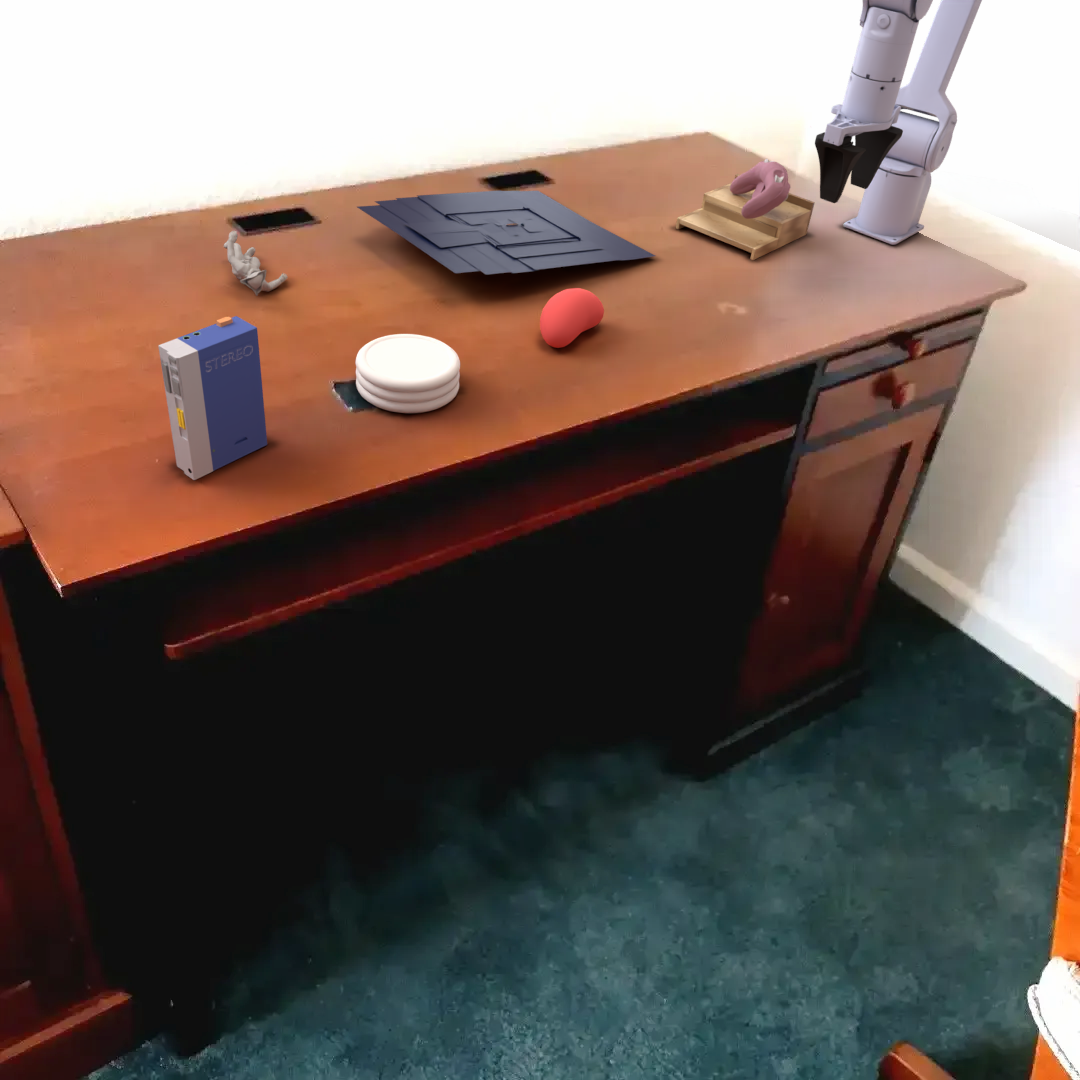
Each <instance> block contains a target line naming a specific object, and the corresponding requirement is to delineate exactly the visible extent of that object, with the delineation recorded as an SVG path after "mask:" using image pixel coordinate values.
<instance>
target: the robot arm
mask: <svg viewBox="0 0 1080 1080" xmlns="http://www.w3.org/2000/svg"><path fill="white" fill-rule="evenodd" d="M933 1H934V0H862V7H861V8H862V9H861V13H860V16H859V17H860V18H859V27H861V30H860V31H861V32H860V34H859V35H860V36H859V40H858V43H857V47H856V51H855V54H854V59H853V63H852V66H851V70H850V74H849V77H848V82H847V85H846V90H845V92H844V97H843V101H842V104H841V103H839V104H835V105H832V107H831V111H830V113H831V114H833V115H835V116H834V118H833V119H832V121H830V122H829V123H827V124H826V128H825V131H824V132H821V133H818V134H816V136H815V140H814V147H815V149H816V152H817V157H818V162H819V199H821V200H824V201H826V202H829V203H832V204H836V203H839V200H840V198H841V197H842V194H843V192H844V190H845V187H846V184H847V183H848V179H849V177H850V185H852V186H854V187H855V186H856V187H857V188H860V189H864V191H863V195H862V198H861V201H860V204H859V209H858V211H857V215H856V216H855V217H853V218H851V219H848V220H847V221H845V222H843V225H842V226H843V228H846V229H849V230H851V231H855V232H857V233H860V234H863V235H865V236H867V237H871V238H874V239H876V240H879V241H882V242H884V243H887V244H889V245H891V246H892V245H894V246H895V245H898V244H899V243H901V242H903V241H905V240H906V239H908V238H909V237H912V236H913V235H915V234H918V233H919V232H921V231H922V230H924V229H925V225H924V224H922V223H920V220H921V216H922V215H923V214H922V213H923V210H924V208H925V204H926V201H927V198H928V195H929V193H930V188H931V186H932V174H931V173H933V172H935V171H936V170H938V169H939V168H940V167H941V165H942V164H943V162H944V160H945V158H946V156H947V154H948V151H949V149H950V146H951V144H952V139H953V135H954V131H955V128H956V125H957V122H958V113H957V110H956V109H955V107H954V105H953V104H952V102H951V101H950V99H949V98H948V95H947V94H946V93H947V89H948V86H949V84H950V82H951V79H952V76H953V73H954V71H955V68H956V66H957V64H958V62H959V59H960V56H961V54H962V51H963V49H964V46H965V44H966V42H967V40H968V36H969V34H970V31H971V29H972V26H973V24H974V21H975V19H976V16H977V14H978V11H979V9H980V7H981V4H982V1H983V0H940V2H939V4H938V7H937V10H936V12H935V15H934V18H933V20H932V23H931V25H930V28H929V31H928V33H927V36H926V38H925V41H924V44H923V46H922V49H921V52H920V54H919V57H918V59H917V62H916V64H915V67H914V70H913V72H912V74H911V78H910V80H909V81H908V84H905V85H903V86H902V80H903V79H904V75H905V71H906V68H907V64H908V61H909V58H910V54H911V50H912V48H913V44H914V41H915V37H916V34H917V30H918V26H919V23H920V21H921V20H922V19H923V18H924V17H925V16H926V15H927V13H928V12H929V10H930V8H931V7H932V4H933ZM901 86H902V87H901ZM902 110H907V111H908V110H909V111H911V112H916V113H919V114H923V115H927V116H930V117H934V118H937V120H936V119H932V118H928V117H924V116H921V115H917V114H913V113H909V112H906V111H902ZM853 137H854V141H855V142H854V141H852V139H853Z"/></svg>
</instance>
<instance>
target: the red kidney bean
mask: <svg viewBox="0 0 1080 1080" xmlns="http://www.w3.org/2000/svg"><path fill="white" fill-rule="evenodd" d="M604 314H605V308H604V305H603V303H602V301H601V300H600V298H599V297H598V296H597V295H596V294H594V293H593V292H591V291H590V290H587V289H584V288H580V287H573V288H566V289H563V290H560V291H558V292H557V293H555V294H554V295H553V296H552V297H551V298H549V299H548V301H547V302H546V304H545V305H544V307H542V311H541V313H540V318H539V329H540V333H541V336H542V339H543V340H544V342H545V343H546V344H547V345H548V346H550V347H552V348H555V349H556V348H557V349H559V348H565V347H566V346H568V345H570V344H571V343H572V342H573V341H574V340H575V339H576V338H577V337H579V335H580V334H581V333H583V332H585V331H588V330H590V329H591V328H594V327H596V326H597V325H598V324H600V323H601V321H602V320H603V318H604V316H605V315H604Z"/></svg>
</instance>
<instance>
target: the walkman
mask: <svg viewBox="0 0 1080 1080" xmlns="http://www.w3.org/2000/svg"><path fill="white" fill-rule="evenodd" d="M259 346H260V344H259V334H258V327H257V326H255V325H253V324H252V323H249V322H248V321H246V320H244V319H243V318H241V317H239V316H237V315H235V316H232V317H230V316H228V315H227V316H224V317H221V318H219V319H217V320H215V323H214V324H211V325H208V326H206V327H202V328H200V329H197V330H195V331H192V332H190V333H187V334H184V335H182V336H178V337H177V338H174V339H171V340H169V341H166V342H163V343H161V344H158V345H157V347H158V351H159V352H158V354H159V359H160V365H161V372H162V379H163V385H164V391H165V392H164V393H165V398H166V405H167V412H168V417H169V424H170V431H171V438H172V444H173V449H174V457H175V463H176V467H177V468H178V469H180V470H181V471H183V474H184V475H186V476H187V477H189V479H192V480H193V481H196V480H198V479H200V478H202V477H205V476H206V475H208V474H210V473H212V472H214V471H216V470H219V469H220V468H223V467H224V466H227V465H229V464H231V463H233V462H235V461H237V460H239V459H241V458H243V457H245V456H248V455H249V454H251V453H253V452H255V451H257V450H259V449H261V448H264V447H266V446H268V436H267V426H266V425H267V423H266V415H265V414H266V412H265V401H264V391H263V389H264V388H263V380H262V379H263V378H262V368H261V355H260V347H259Z"/></svg>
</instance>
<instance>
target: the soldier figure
mask: <svg viewBox="0 0 1080 1080" xmlns="http://www.w3.org/2000/svg"><path fill="white" fill-rule="evenodd" d="M238 236H239V235H238V231H237V230H231V231H230V232H229V234H228V239H227V241H226V242H224V244H223V248H224V249H227V250H226V251H227V254H226V255H227V262H228V263H229V264H230V265H231V268H232V269H231V272H232V274H233V275H234V277H236V279H237V280H239V282H240V283H241V284H243V285H245V286H247V287H248V289H251V290H252V291H253V293H254V295H255V296H258V295H259V294H260V293H261V292H262V291H263V292H266V293H268V292H271V291H272V290H275V289H277V288H278V287H279V286H280V285H282V283H284V282H286V280H287V279H288V278H289V277H288V276H287V275H288V274H286V273H284V272H282V273H281V275H280V276H279V277H278V278H276V279H274V280H271V281H269V282H268V281H267V280H266V276H267V269H264V270H263V269H262V270H261V269H260V267H261V264H262V263H261V261H260V259H259V258H258V257H256V256H255V253H256V248H255V247H253V246H252V247H249V248H248V249H247V250H246V252H245V253H243V251H242V246H241V245H240V244H239V243H237V240H238Z"/></svg>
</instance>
